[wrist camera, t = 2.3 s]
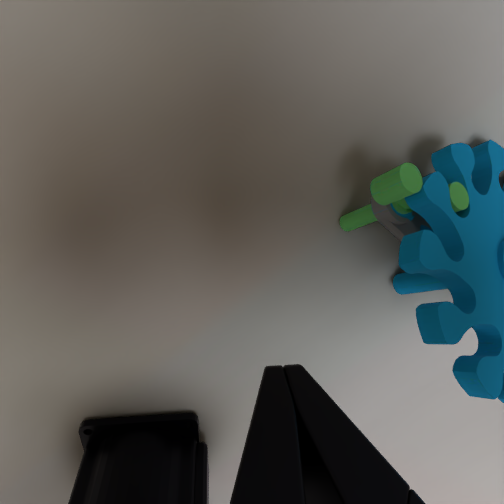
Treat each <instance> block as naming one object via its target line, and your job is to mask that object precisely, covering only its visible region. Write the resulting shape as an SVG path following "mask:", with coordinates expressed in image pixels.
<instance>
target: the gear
mask: <svg viewBox="0 0 504 504" xmlns="http://www.w3.org/2000/svg"><path fill="white" fill-rule="evenodd" d="M431 159H432V164H433V167H434V169H435V171H436V172H434V173H432V174H429V175H427V176H425V177H423V178H422V176H421V173H420V171H419V170H418V168H417V167H416V166H415V165H413V164H411V163H404V164H402V165H400V166H398V167H396V168H394V169H392V170H390V171H388V172H386V173H384V174H382V175H380V176H378V177H376V178H374V179H373V180H372V182H371V185H370V191H371V194H372V196H371V204H369V205H367V206H364V207H362V208H360V209H357V210H355V211H353V212H350V213H348V214H346V215H344V216H342V217H341V218H340V226H341V228H342V229H343V230H344V231H351V230H354V229H356V228H359V227H362V226H364V225H367V224H370V223H372V222H375V221H379V222H380V223H381V224H382V225H383V226H384V227H385V228H386V229H387V230H388V231H390V232H391V233H392V234H393V235H394V236H395V237H396V238H397V239H398V240H399V241H401V244H400V250H399V266H400V267H401V269H402V270H404V271H405V273H400V274H397V275H395V277H394V279H393V286H394V289H395V290H396V292H397V293H399V294H401V295H402V294H410V293H418V292H425V291H433V290H440V289H448V290H449V291H450V292H451V294H452V297H453V303H454V304H453V303H451V302H436V303H426V304H421V305H419V306H418V307H417V308H416V317H417V323H418V327H419V330H420V333H421V336H422V339H423V342H424V343H426V344H456V343H458V342H459V341H460V340H461V338H462V336H463V335H464V333H465V332H466V331H467V330H468V329H469V328H471V327H472V328H473V329H474V330H475V332H476V334H477V337H478V349H477V352H476V353H475V354H474V355H471V356H460V357H458V358H457V359H456V361H455V363H454V365H453V373H454V376H455V378H456V379H457V381H458V383H459V384H460V386H461V387H462V388H463V389H464V390H465V392H466V393H467V394H468V395H469V396H473V397H480V398H488V399H496V398H497V397H498V399H499V400H500V401H502V402H503V403H504V185H503V189H501V186H500V184H499V174H500V172H501V171H503V170H504V149H503V148H502V147H501V146H500V145H498V144H497V143H495V142H494V141H492V140H489V141H487V142H484V143H482V144H480V145H478V146H476V147H474V148H471V147H470V146H469V145H467V144H463V143H456V144H451V145H449V146H447V147H445V148H443V149H441V150H439V151H437V152H435V153H433V154H432V156H431ZM471 174H472V179H471Z"/></svg>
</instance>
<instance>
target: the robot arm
mask: <svg viewBox="0 0 504 504" xmlns="http://www.w3.org/2000/svg"><path fill="white" fill-rule="evenodd" d="M79 435H80V438H81V442H82V445H83V448H84V455H83V458H82V461H81V464H80V467H79V471H78V474H77V477H76V480H75V484H74V487H73V490H72V493H71V497H70V500H69V503H68V504H209V465H208V447H207V444H206V443H205V442H200V437H199V422H198V416H197V415H195V414H193V413H183V414H168V415H153V416H137V417H122V418H107V419H92V420H85V421H83V422H82V423H81V425H80V428H79ZM230 504H425V503H424V501H423V500H422V499H421V498H420V497H419V496H418V495H417V494H416V492H415V491H414V490H412V489H410V486H409V485H408V484H407V483H406V481H405V480H404V479H403V478H402V477H401V476H400V475H399V474H398V473H397V471H396V470H395V469H394V468H393V467H392V466H391V465H390V464H389V462H388V461H387V460H386V459H385V458H384V457H383V456H382V455H381V453H380V452H379V451H378V450H377V449H376V448H375V447H374V446H373V445H372V443H371V442H370V441H369V440H368V439H367V438H366V437H365V436H364V434H363V433H362V432H361V431H360V430H359V429H358V428H357V427H356V426H355V424H354V423H353V422H352V421H351V420H350V419H349V418H348V417H347V415H346V414H345V413H344V412H343V411H342V410H341V409H340V408H339V406H338V405H337V404H336V403H335V402H334V401H333V400H332V399H331V398H330V396H329V395H328V394H327V393H326V392H325V391H324V390H323V389H322V387H321V386H320V385H319V384H318V383H317V382H316V381H315V380H314V379H313V377H312V376H311V375H310V374H309V373H308V372H307V371H306V370H305V368H304V367H303V366H302V365H300V364H294V365H285V366H284V367H282V366H281V365H276V366H266V367H265V369H264V373H263V376H262V380H261V384H260V388H259V392H258V396H257V400H256V404H255V407H254V411H253V415H252V419H251V423H250V427H249V431H248V435H247V438H246V442H245V446H244V450H243V454H242V458H241V462H240V466H239V469H238V473H237V477H236V481H235V485H234V489H233V493H232V497H231V500H230Z"/></svg>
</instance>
